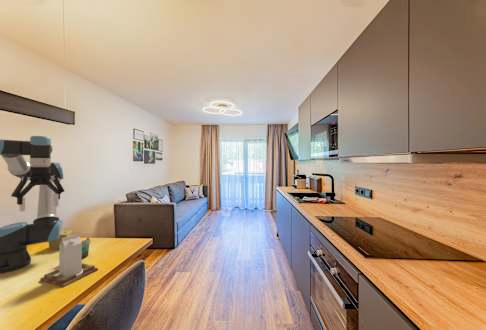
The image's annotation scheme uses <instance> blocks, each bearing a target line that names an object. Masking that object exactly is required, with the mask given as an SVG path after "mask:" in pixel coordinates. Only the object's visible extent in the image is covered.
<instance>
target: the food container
mask: <svg viewBox="0 0 486 330" xmlns="http://www.w3.org/2000/svg"><path fill="white" fill-rule="evenodd" d="M81 242H82V260H83V259H85V258H88V256H89V252H90V251H89V250H90V244H91V243H92V242H91V239H90V238H89V237H87V238H86V239H85V240H81Z"/></svg>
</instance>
